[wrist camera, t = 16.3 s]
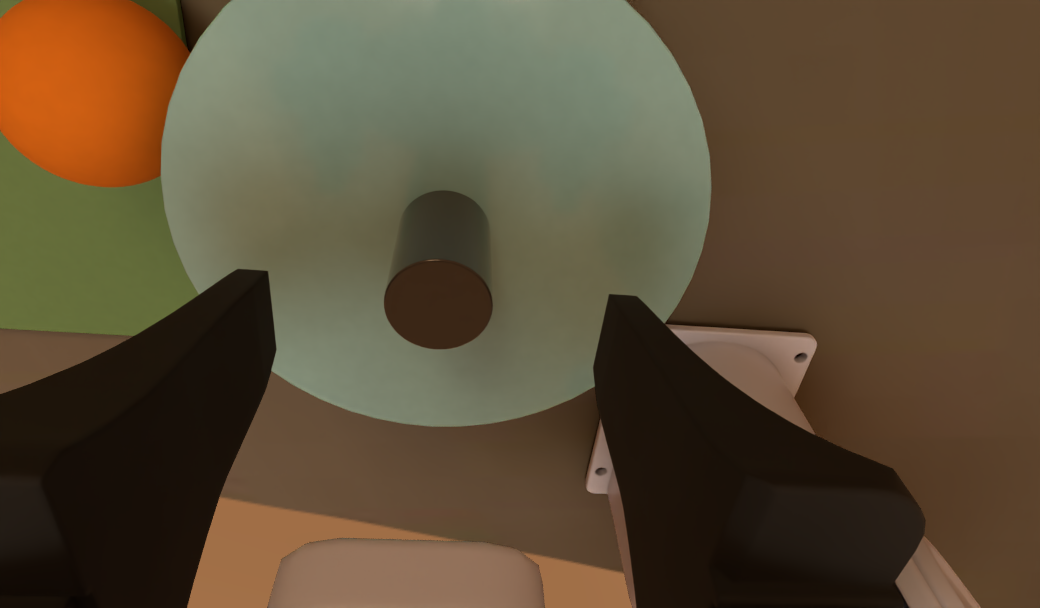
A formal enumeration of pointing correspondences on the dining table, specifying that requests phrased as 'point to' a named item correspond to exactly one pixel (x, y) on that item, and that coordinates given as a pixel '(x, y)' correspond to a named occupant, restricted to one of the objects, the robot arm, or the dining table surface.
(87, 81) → the orange
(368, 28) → the lid
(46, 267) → the green flat l-shaped piece
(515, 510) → the dining table surface
